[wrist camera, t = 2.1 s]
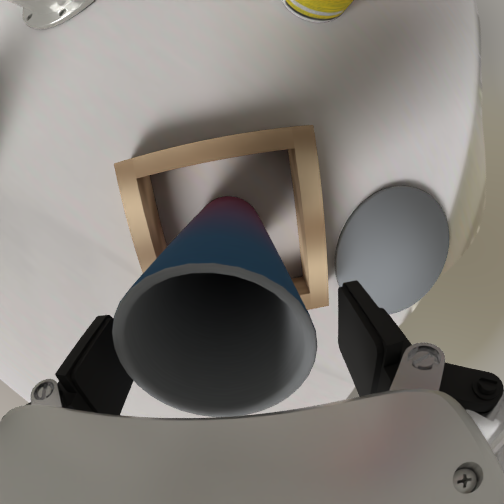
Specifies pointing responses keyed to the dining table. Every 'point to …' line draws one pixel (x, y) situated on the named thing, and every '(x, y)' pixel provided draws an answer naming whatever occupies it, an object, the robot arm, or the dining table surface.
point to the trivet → (394, 246)
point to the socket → (292, 138)
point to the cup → (217, 319)
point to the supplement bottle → (317, 9)
